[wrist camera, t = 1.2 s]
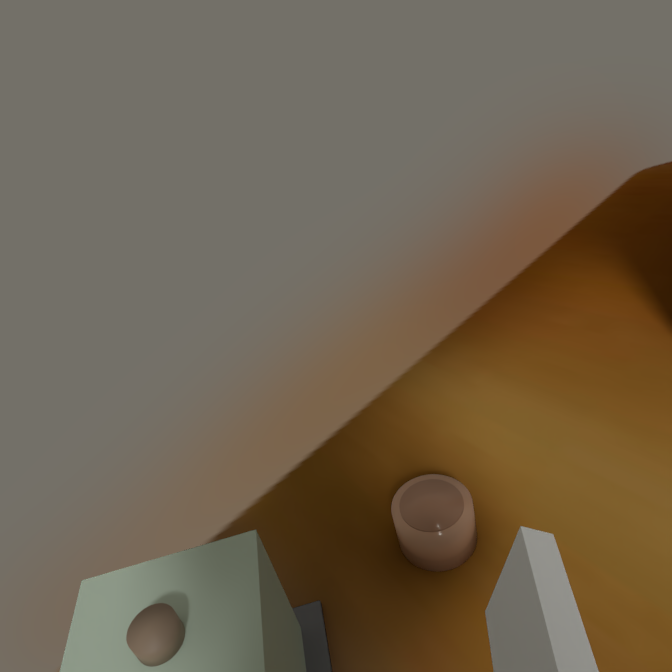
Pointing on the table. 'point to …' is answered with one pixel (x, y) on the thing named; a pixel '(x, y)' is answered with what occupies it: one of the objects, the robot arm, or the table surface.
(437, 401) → the table surface
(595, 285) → the table surface
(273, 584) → the sage green cube
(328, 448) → the table surface
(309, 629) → the mat
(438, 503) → the bowl
